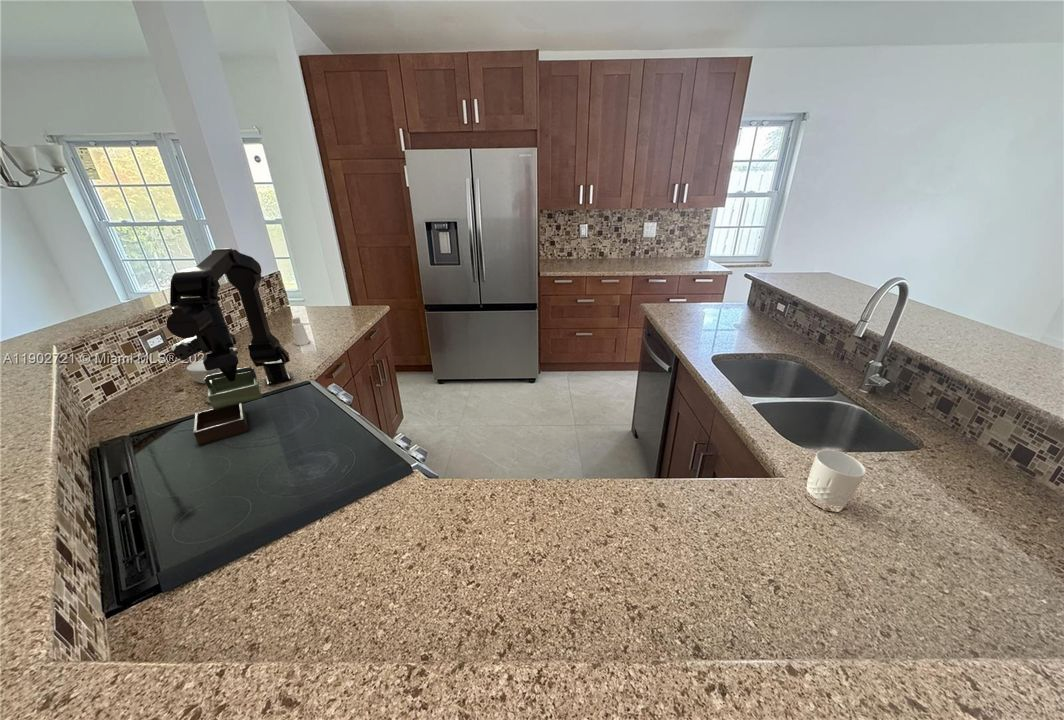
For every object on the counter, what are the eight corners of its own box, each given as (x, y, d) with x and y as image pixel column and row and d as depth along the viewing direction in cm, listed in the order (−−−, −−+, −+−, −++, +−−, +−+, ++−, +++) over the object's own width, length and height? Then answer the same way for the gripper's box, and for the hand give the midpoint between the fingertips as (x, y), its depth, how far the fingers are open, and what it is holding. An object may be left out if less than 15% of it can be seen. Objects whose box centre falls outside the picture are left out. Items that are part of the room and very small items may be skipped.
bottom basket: (200, 425, 100) (194, 413, 98) (245, 413, 105) (241, 401, 104) (199, 446, 92) (193, 432, 90) (248, 431, 97) (243, 418, 96)
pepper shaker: (312, 340, 156) (306, 315, 151) (304, 345, 151) (297, 320, 146) (300, 340, 156) (293, 315, 152) (291, 345, 151) (284, 319, 147)
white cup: (841, 493, 78) (859, 456, 74) (852, 521, 72) (872, 481, 68) (797, 482, 81) (812, 445, 77) (804, 507, 75) (820, 468, 71)
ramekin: (240, 375, 127) (235, 361, 125) (200, 388, 118) (194, 373, 116) (226, 367, 132) (221, 354, 130) (187, 379, 124) (180, 365, 121)
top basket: (213, 392, 100) (204, 368, 97) (259, 381, 105) (251, 359, 102) (213, 410, 92) (202, 385, 89) (262, 397, 97) (253, 373, 94)
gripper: (170, 319, 92) (194, 375, 99) (161, 342, 79) (190, 405, 85) (225, 311, 98) (244, 364, 105) (226, 331, 85) (248, 390, 92)
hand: (232, 379), depth 97 cm, fingers closed on top basket
